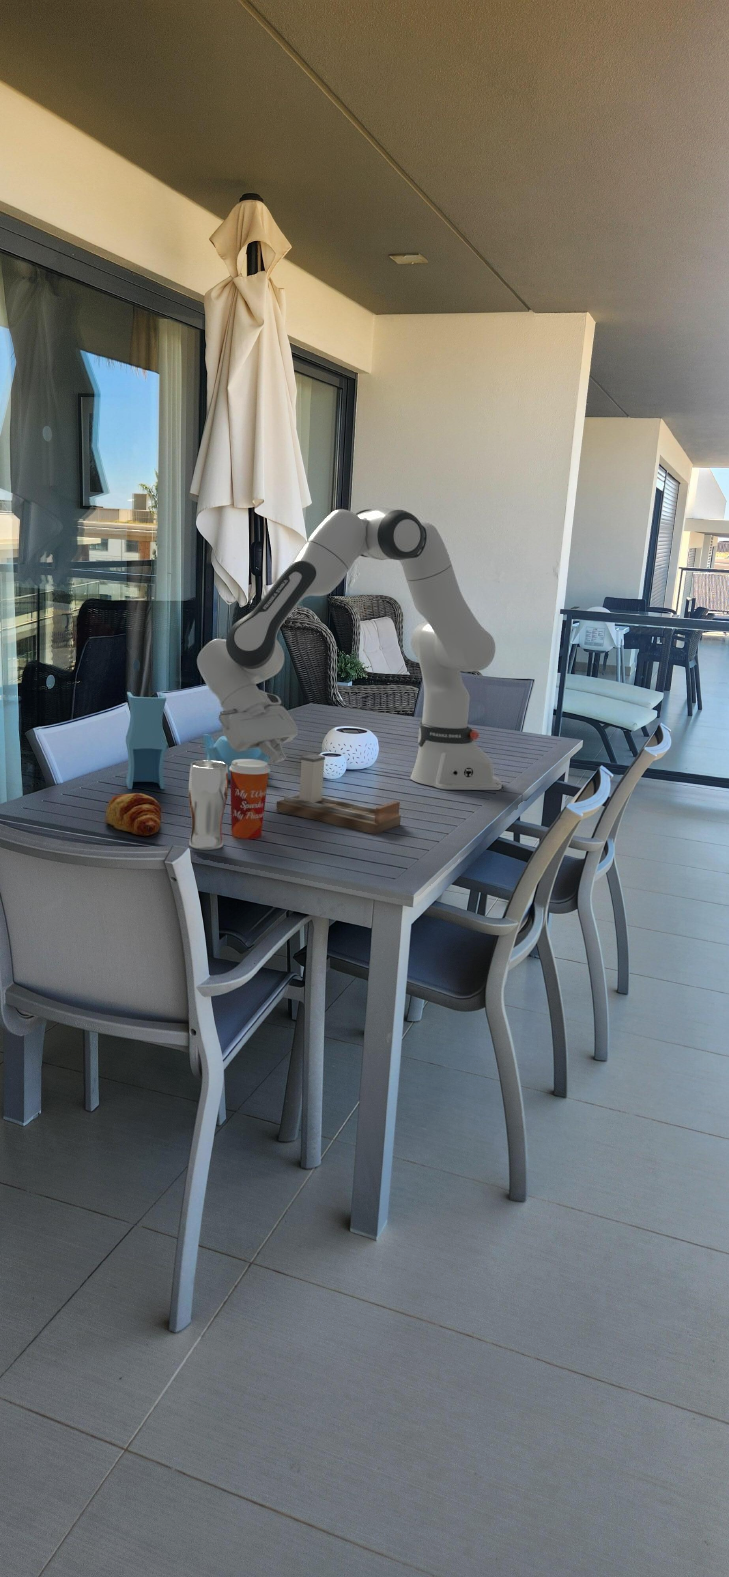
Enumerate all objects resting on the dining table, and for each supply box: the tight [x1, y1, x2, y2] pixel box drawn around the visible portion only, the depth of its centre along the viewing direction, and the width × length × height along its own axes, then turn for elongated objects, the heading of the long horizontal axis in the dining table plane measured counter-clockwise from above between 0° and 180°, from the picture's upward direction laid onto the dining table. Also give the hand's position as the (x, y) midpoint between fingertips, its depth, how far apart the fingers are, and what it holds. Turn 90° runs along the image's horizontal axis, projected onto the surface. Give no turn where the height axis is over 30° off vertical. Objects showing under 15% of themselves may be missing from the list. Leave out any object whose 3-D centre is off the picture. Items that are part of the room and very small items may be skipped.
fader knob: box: [298, 753, 326, 803], centre depth 207 cm, size 3×4×9 cm
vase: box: [125, 691, 167, 790], centre depth 218 cm, size 8×8×20 cm
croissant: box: [105, 792, 162, 837], centre depth 188 cm, size 21×10×8 cm, turn 32°
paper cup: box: [229, 759, 272, 840], centre depth 186 cm, size 8×8×14 cm
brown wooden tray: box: [276, 794, 402, 835], centre depth 205 cm, size 24×10×5 cm, turn 59°
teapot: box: [202, 733, 270, 782], centre depth 234 cm, size 15×15×11 cm
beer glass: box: [188, 759, 229, 851], centre depth 178 cm, size 7×7×15 cm
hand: (280, 760), depth 210 cm, fingers closed
